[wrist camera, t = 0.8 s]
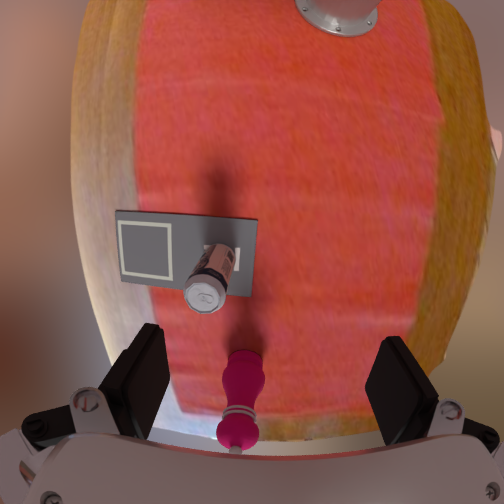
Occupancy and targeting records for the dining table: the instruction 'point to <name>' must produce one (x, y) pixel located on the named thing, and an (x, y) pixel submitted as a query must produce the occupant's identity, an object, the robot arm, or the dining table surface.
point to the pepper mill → (241, 401)
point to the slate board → (181, 248)
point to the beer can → (210, 279)
